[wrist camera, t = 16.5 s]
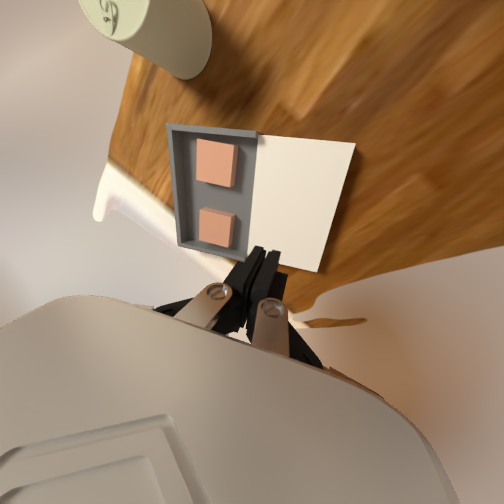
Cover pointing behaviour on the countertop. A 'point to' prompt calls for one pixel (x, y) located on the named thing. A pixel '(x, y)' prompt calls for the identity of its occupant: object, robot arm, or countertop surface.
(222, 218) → the tile
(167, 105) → the countertop surface
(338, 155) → the plate
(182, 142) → the tray
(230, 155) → the tile
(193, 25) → the can
